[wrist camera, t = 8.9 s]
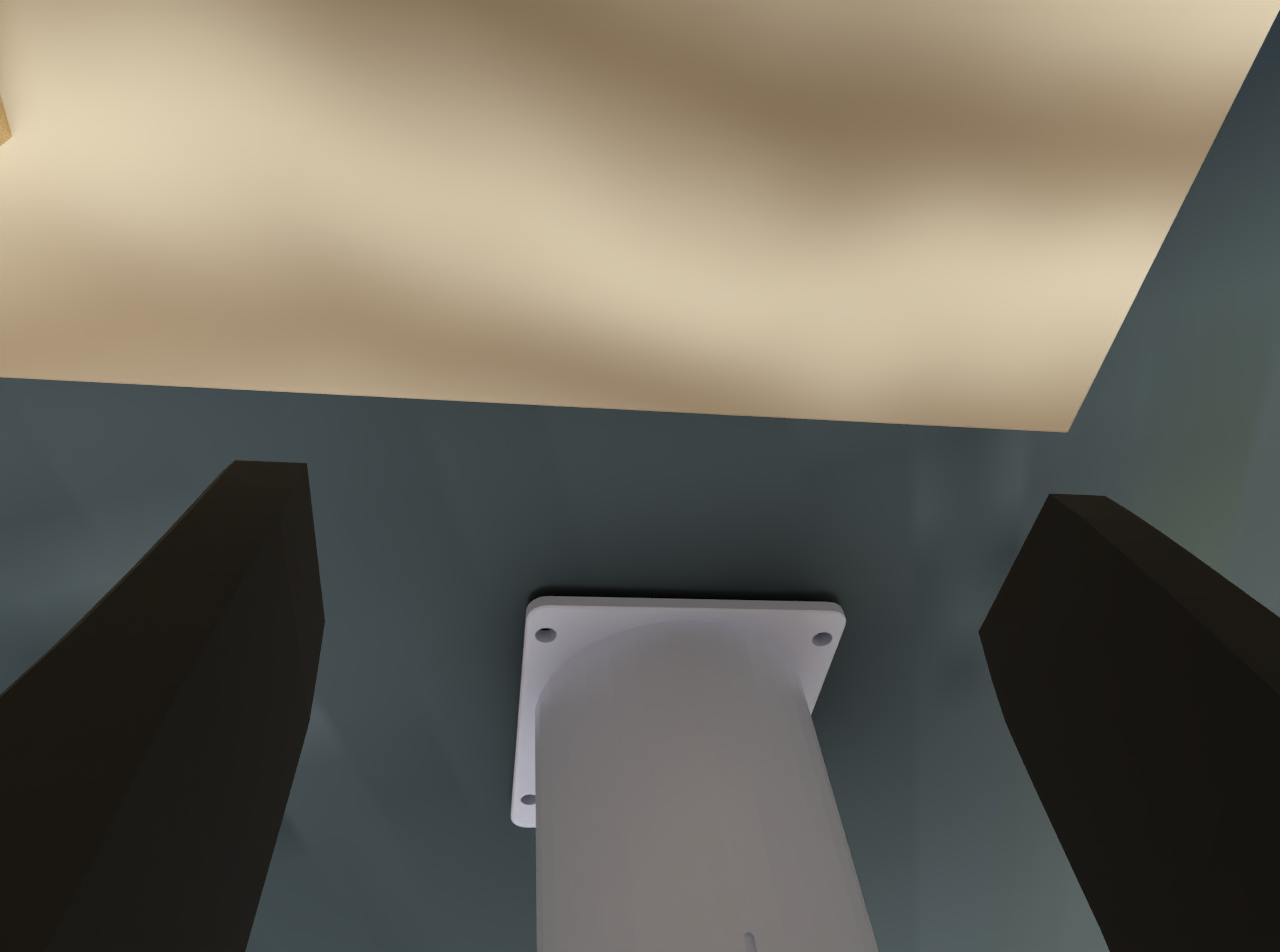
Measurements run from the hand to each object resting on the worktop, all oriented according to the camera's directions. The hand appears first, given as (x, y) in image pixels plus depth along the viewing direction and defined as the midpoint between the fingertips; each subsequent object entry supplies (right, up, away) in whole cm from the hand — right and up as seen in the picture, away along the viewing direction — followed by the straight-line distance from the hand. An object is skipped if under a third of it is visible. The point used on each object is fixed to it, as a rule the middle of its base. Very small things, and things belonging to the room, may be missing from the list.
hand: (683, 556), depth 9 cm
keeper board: (-4, +8, +5) cm, 11 cm away
